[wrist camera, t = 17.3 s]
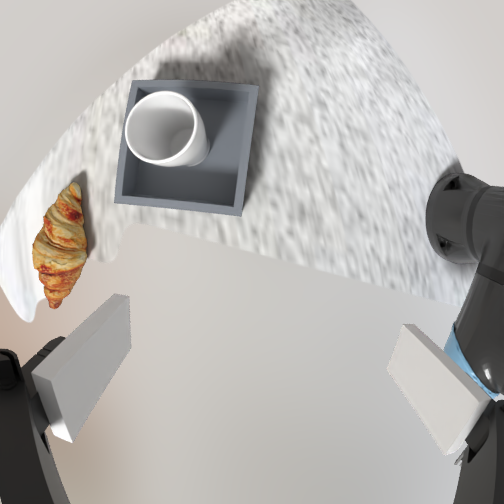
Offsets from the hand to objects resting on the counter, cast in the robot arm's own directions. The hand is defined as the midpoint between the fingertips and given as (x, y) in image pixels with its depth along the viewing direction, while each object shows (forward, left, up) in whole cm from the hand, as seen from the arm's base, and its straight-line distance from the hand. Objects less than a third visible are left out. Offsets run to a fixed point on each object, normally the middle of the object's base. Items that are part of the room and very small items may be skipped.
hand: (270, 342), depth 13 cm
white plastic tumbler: (+10, -11, -28) cm, 32 cm away
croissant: (+29, +5, -29) cm, 42 cm away
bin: (+10, -11, -29) cm, 32 cm away
